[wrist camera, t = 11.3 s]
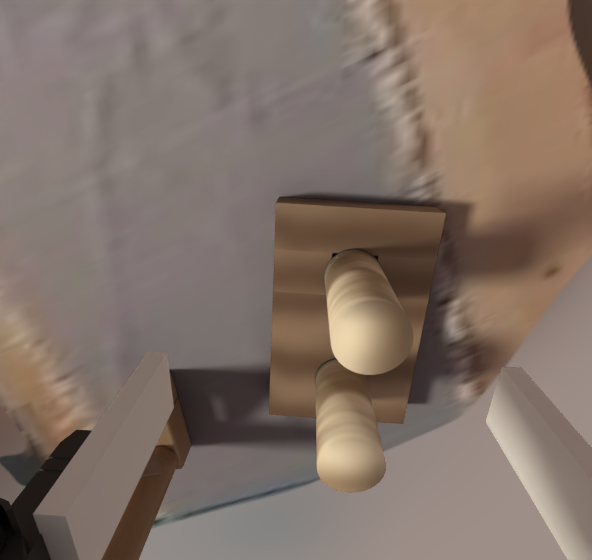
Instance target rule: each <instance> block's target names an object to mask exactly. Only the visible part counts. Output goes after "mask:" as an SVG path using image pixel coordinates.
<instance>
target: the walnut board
mask: <svg viewBox="0 0 592 560" xmlns="http://www.w3.org/2000/svg"><path fill="white" fill-rule="evenodd" d="M445 216H446V213H445V212H443V211H441V210H440V209H438V208H436V207H432V206H416V205H400V204H383V203H367V202H351V201H334V200H318V199H302V198H285V197H279V198H278V200H277V202H276V223H275V252H274V281H273V310H272V339H271V368H270V397H269V415H283V416H297V417H312V418H316V442H317V472H318V475H319V477H320V479H321V480H322V481H323V482H324V483H325V484H326V485H327V486H329V487H331V488H332V489H335V490H338V491H341V492H348V493H353V492H361V491H365V490H367V489H370V488H372V487H373V486H375V485H376V484H378V483H379V482H380V480H381V479H382V478H383V476H384V474H385V471H386V463H385V458H384V454H383V449H382V445H381V441H380V436H379V432H378V427H377V423H376V422H383V423H397V424H403V422H404V418H405V413H406V408H407V403H408V398H409V393H410V388H411V383H412V378H413V373H414V369H415V364H416V359H417V354H418V349H419V344H420V339H421V334H422V329H423V324H424V319H425V315H426V310H427V305H428V300H429V295H430V290H431V285H432V280H433V275H434V270H435V266H436V261H437V256H438V251H439V246H440V241H441V236H442V231H443V226H444V221H445ZM347 249H361V250H365V251H367V252H369V253H371V254H372V255H373V256H374V257H375V258H376V259H377V260H378V262H379V263H380V265H381V267H382V270H383V272H384V274H385V276H386V278H387V280H388V282H389V284H390V285H391V287H392V289H393V291H394V293H395V295H396V297H397V299H398V301H399V303H400V304H401V306H402V308H403V310H404V312H405V314H406V316H407V318H408V320H409V322H410V323H411V326H412V328H413V333H414V340H413V346H412V349H411V351H410V353H409V355H408V356H407V358H406V359H405V360H404V361H403V362H402V363H401V364H400V365H398V366H397V367H396V368H394V369H392V370H390V371H388V372H385V373H381V374H376V375H365V374H359V373H355V372H353V371H351V370H349V369H347V368H345V367H344V366H343V365H342V364H340V363H339V361H338V360H337V359H336V357H335V356H334V354H333V351H332V348H331V341H330V330H329V319H328V309H327V298H326V288H325V282H324V272H325V268H326V266H327V264H328V262H329V261H330V260H331V258H332V253H339V252H341V251H344V250H347Z"/></svg>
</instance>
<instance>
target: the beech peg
mask: <svg viewBox="0 0 592 560" xmlns="http://www.w3.org/2000/svg"><path fill="white" fill-rule="evenodd" d="M324 282H325V288H326V298H327V309H328V319H329V330H330V341H331V348H332V351H333V354H334V356H335V357H336V359H337V360H338V361H339V363H340V364H342V365H343V366H344V367H345V368H347V369H349V370H351V371H353V372H355V373H359V374H365V375H376V374H381V373H385V372H388V371H390V370H392V369H394V368H396V367H397V366H398V365H400V364H401V363H402V362H403V361H404V360H405V359H406V358H407V356H408V355H409V353H410V351H411V349H412V346H413V340H414V333H413V328H412V326H411V323H410V322H409V320H408V318H407V316H406V314H405V312H404V310H403V308H402V306H401V304H400V303H399V301H398V299H397V297H396V295H395V293H394V291H393V289H392V287H391V285H390V284H389V282H388V280H387V278H386V276H385V274H384V272H383V270H382V267H381V265H380V263H379V262H378V260H377V259H376V258H375V257H374V256H373V255H372V254H371V253H369V252H367V251H365V250H361V249H347V250H344V251H341V252H339V253H338V254H336V255H335V256H334V257H333V258H331V260H330V261H329V262H328V264H327V266H326V268H325V272H324Z"/></svg>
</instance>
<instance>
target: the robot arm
mask: <svg viewBox="0 0 592 560" xmlns="http://www.w3.org/2000/svg"><path fill="white" fill-rule="evenodd" d="M173 408H174V404H173V396H172V388H171V380H170V372H169V364H168V356H167V353H165V352H147V354H146V355H145V356H144V358H143V359H142V361H141V362H140V364H139V365H138V366H137V368H136V369H135V371H134V372H133V373H132V375H131V376H130V378H129V379H128V380H127V382H126V383H125V385H124V386H123V388H122V389H121V390H120V392H119V393H118V395H117V396H116V397H115V399H114V400H113V402H112V403H111V405H110V406H109V407H108V409H107V410H106V412H105V413H104V414H103V416H102V417H101V419H100V420H99V421H98V423H97V424H96V426H95V427H94V429H93V430H92V431H89V430H76V431H75V432H73V433H72V434H71V435H69V436H68V437H67V438H65V439H64V440H63V441H62V442H60V444H59V445H58V446H57V447H56V449H55V450H54V451H53V453H52V454H51V455H50V456H49V459H48V460H46V461H45V463H44V464H43V465H42V467H41V468H40V469H39V472H37V473H36V474H35V476H34V477H33V478H32V479H31V481H30V482H29V483H28V485H27V486H26V487H25V489H24V490H23V491H22V492H21V494H20V495H19V496H18V497H17V499H16V500H15V501H14V503H13V504H12V505H10V503H9V501H6V500H4V499H2V498H0V560H101V559H102V557H103V555H104V553H105V551H106V549H107V547H108V545H109V543H110V541H111V538H112V536H113V534H114V532H115V530H116V528H117V526H118V524H119V522H120V520H121V517H122V515H123V513H124V511H125V509H126V507H127V505H128V503H129V501H130V499H131V497H132V494H133V492H134V490H135V488H136V486H137V484H138V482H139V480H140V478H141V476H142V473H143V471H144V469H145V467H146V465H147V463H148V461H149V459H150V457H151V455H152V452H153V450H154V448H155V446H156V444H157V442H158V440H159V438H160V436H161V434H162V432H163V429H164V427H165V425H166V423H167V421H168V419H169V417H170V415H171V413H172V411H173ZM486 423H487V425H488V426H489V428H490V430H491V431H492V433H493V435H494V436H495V438H496V440H497V441H498V443H499V445H500V446H501V448H502V450H503V452H504V453H505V455H506V456H507V458H508V460H509V462H510V463H511V465H512V467H513V468H514V470H515V472H516V473H517V475H518V477H519V478H520V480H521V482H522V484H523V485H524V487H525V489H526V490H527V492H528V494H529V495H530V497H531V499H532V500H533V502H534V504H535V505H536V507H537V509H538V510H539V512H540V514H541V516H542V517H543V519H544V520H545V522H546V524H547V525H548V527H549V529H550V531H551V532H552V534H553V536H554V537H555V539H556V540H557V542H558V544H559V546H560V547H561V549H562V551H563V552H564V554H565V556H566V557H567V559H568V560H592V448H591V447H590V445H589V444H588V443H587V442H586V441H585V440H584V439H583V438H582V436H581V435H580V434H579V433H578V432H577V431H576V429H575V428H574V427H573V426H572V425H571V424H570V422H569V421H568V420H567V419H566V418H565V417H564V416H563V414H562V413H561V412H560V411H559V410H558V409H557V408H556V406H555V405H554V404H553V403H552V402H551V401H550V400H549V398H548V397H547V396H546V395H545V394H544V393H543V392H542V390H541V389H540V388H539V387H538V386H537V385H536V384H535V382H534V381H533V380H532V379H531V378H530V377H529V375H528V374H527V373H526V372H525V371H524V370H523V369H522V368H516V367H502V368H501V371H500V375H499V378H498V382H497V385H496V388H495V392H494V396H493V399H492V402H491V405H490V409H489V412H488V416H487V419H486Z"/></svg>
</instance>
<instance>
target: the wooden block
mask: <svg viewBox="0 0 592 560" xmlns="http://www.w3.org/2000/svg"><path fill="white" fill-rule="evenodd" d="M169 372H170V371H169ZM170 380H171V388H172V396H173V404H174V408H173V411H172V413H171V415H170V417H169V419H168V421H167V423H166V425H165V427H164V429H163V432H162V434H161V436H160V438H159V440H158V442H157V444H156V446H155V448H154V450H153V452H152V455H151V457H150V459H149V461H148V463H147V465H146V467H145V469H144V471H143V473H142V476H141V478H140V480H139V482H138V484H137V486H136V488H135V490H134V492H133V494H132V497H131V499H130V501H129V503H128V505H127V507H126V509H125V511H124V513H123V515H122V517H121V520H120V522H119V524H118V526H117V528H116V530H115V532H114V534H113V536H112V538H111V541H110V543H109V545H108V547H107V549H106V551H105V553H104V555H103V557H102V559H101V560H139V557H140V555H141V552H142V550H143V547H144V545H145V542H146V540H147V538H148V535H149V533H150V530H151V528H152V525H153V523H154V520H155V518H156V515H157V513H158V511H159V508H160V506H161V503H162V501H163V498H164V496H165V493H166V491H167V488H168V486H169V484H170V481H171V479H172V476H173V474H174V471H175V469H181V468H182V467H183V465H184V463H185V460H186V458H187V455H188V453H189V450H190V447H191V441H190V438H189V434H188V431H187V427H186V424H185V420H184V416H183V413H182V409H181V406H180V402H179V399H178V398H177V391H176V388H175V384H174V381H173V377H172V374H171V372H170Z"/></svg>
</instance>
